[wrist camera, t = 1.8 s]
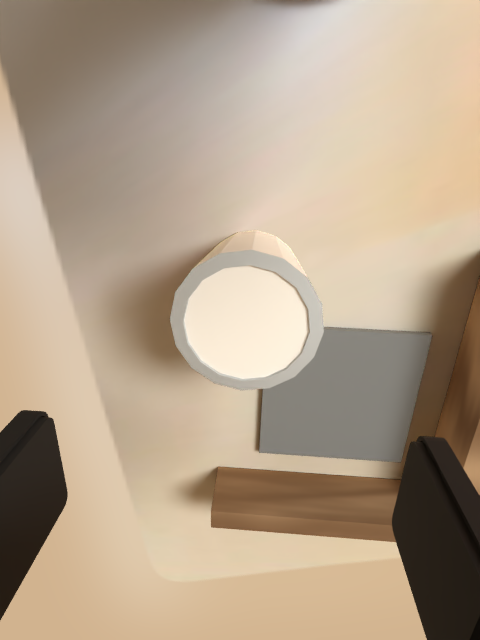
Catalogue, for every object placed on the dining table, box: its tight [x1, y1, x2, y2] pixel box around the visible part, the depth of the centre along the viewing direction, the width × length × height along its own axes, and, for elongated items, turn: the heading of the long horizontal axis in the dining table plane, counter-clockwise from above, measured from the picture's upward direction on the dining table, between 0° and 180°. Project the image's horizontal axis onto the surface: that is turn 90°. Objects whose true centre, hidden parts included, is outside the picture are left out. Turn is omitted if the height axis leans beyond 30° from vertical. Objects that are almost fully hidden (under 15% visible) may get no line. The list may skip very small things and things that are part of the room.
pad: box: [259, 327, 432, 462], centre depth 27 cm, size 10×10×1 cm
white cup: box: [170, 230, 324, 390], centre depth 21 cm, size 7×7×7 cm
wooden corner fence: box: [211, 277, 480, 542], centre depth 25 cm, size 19×17×4 cm
